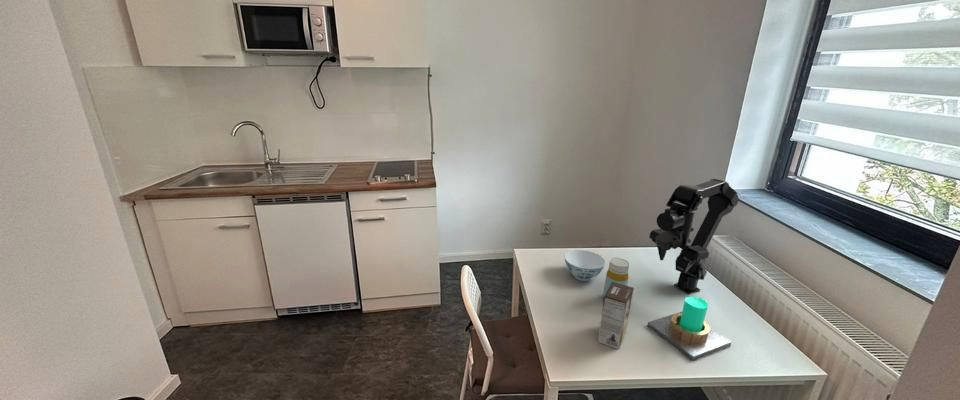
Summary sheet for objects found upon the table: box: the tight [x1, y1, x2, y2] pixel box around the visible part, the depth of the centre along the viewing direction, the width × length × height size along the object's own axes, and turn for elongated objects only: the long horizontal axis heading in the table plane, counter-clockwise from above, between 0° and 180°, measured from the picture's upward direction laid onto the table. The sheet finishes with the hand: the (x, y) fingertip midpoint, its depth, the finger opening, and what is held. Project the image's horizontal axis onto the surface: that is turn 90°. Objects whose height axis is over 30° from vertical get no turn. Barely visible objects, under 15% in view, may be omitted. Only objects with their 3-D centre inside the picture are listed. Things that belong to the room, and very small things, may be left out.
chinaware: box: [564, 249, 606, 282], centre depth 144 cm, size 15×15×8 cm
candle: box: [679, 296, 709, 332], centre depth 111 cm, size 6×6×12 cm
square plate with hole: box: [646, 311, 732, 362], centre depth 113 cm, size 16×16×4 cm
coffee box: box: [597, 282, 635, 350], centre depth 110 cm, size 9×6×16 cm
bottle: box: [602, 257, 630, 299], centre depth 128 cm, size 7×7×15 cm
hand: (672, 266), depth 128 cm, fingers open, 9 cm apart
